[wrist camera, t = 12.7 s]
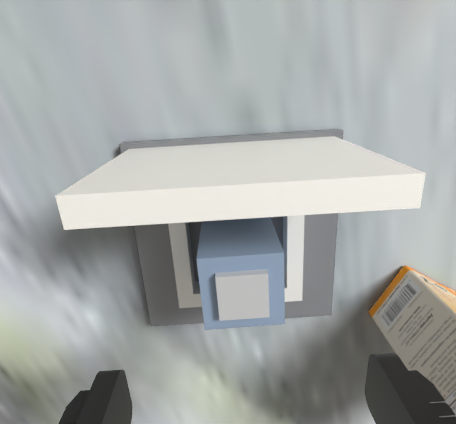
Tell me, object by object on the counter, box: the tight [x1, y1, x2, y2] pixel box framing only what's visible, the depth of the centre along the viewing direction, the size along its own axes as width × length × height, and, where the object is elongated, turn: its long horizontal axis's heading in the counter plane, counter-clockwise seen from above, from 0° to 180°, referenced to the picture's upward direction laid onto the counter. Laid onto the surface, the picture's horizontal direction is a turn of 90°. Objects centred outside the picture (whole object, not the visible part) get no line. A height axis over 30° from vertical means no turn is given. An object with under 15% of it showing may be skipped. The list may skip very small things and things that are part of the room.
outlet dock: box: [55, 129, 426, 326], centre depth 17 cm, size 13×13×10 cm
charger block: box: [196, 217, 285, 330], centre depth 18 cm, size 4×4×6 cm
